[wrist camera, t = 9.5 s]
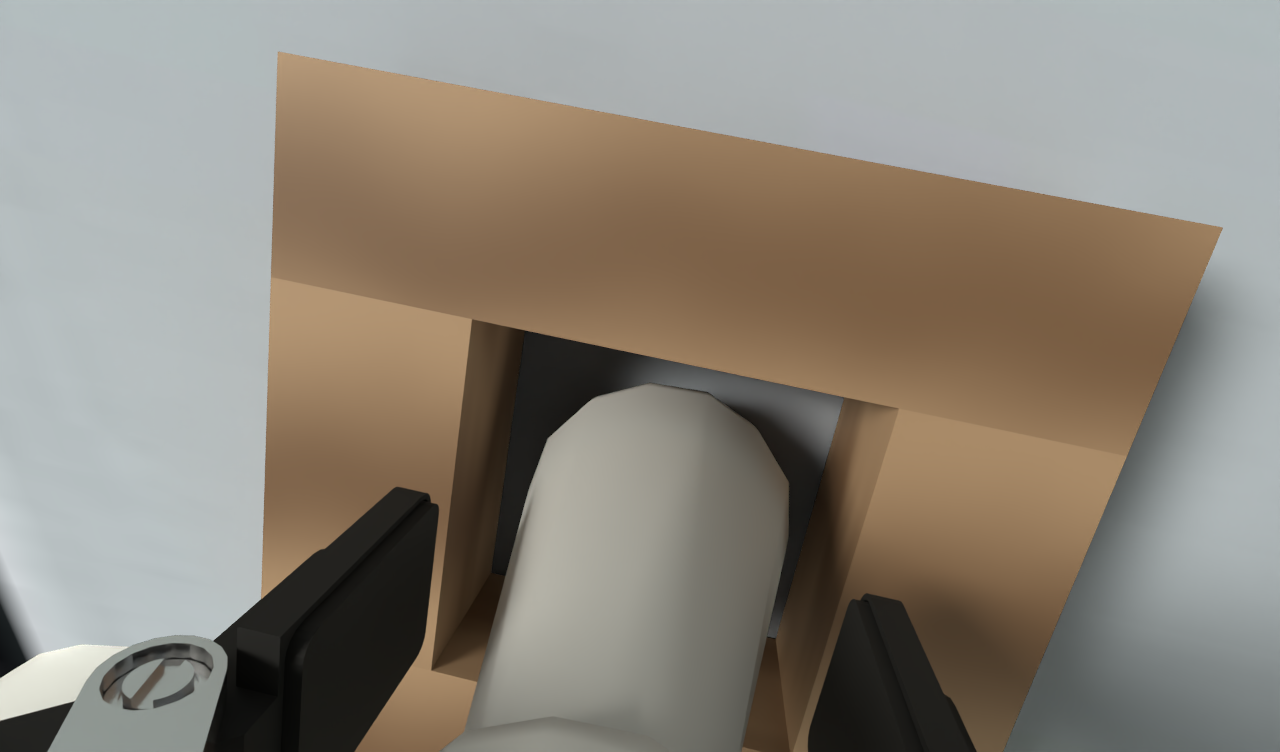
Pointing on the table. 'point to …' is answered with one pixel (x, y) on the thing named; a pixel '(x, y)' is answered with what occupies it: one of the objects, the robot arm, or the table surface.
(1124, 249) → the brown wooden square frame
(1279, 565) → the table surface
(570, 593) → the salt shaker
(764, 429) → the table surface
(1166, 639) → the table surface
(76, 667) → the honey pot
